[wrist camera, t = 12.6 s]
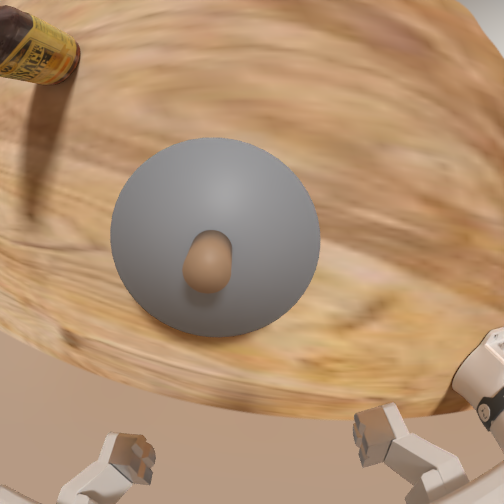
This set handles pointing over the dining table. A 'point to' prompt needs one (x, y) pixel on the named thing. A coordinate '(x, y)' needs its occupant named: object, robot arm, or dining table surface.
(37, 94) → the dining table surface
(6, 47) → the sauce bottle
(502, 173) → the dining table surface
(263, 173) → the lid
